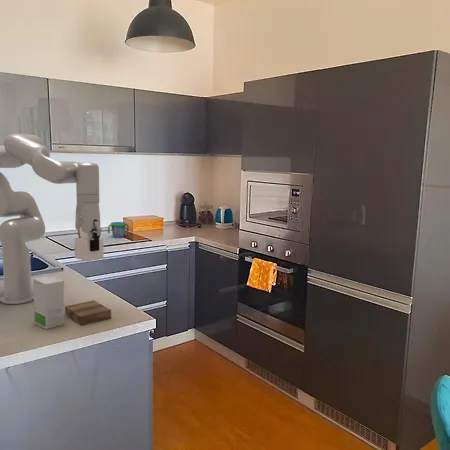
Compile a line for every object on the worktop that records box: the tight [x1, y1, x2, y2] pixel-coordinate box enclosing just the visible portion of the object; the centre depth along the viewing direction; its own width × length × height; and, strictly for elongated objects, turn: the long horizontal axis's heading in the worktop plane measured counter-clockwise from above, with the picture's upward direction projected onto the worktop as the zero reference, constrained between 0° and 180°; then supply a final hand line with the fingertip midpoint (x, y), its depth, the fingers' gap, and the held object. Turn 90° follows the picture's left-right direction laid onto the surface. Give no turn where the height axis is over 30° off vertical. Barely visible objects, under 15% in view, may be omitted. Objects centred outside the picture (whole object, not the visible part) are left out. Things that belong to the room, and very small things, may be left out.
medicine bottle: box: [74, 227, 104, 262], centre depth 151 cm, size 7×7×12 cm
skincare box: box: [33, 274, 65, 330], centre depth 143 cm, size 8×7×16 cm
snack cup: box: [107, 221, 130, 239], centre depth 300 cm, size 16×10×10 cm
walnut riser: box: [64, 300, 112, 326], centre depth 152 cm, size 13×11×3 cm
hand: (89, 248), depth 151 cm, fingers closed on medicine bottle, 7 cm apart
